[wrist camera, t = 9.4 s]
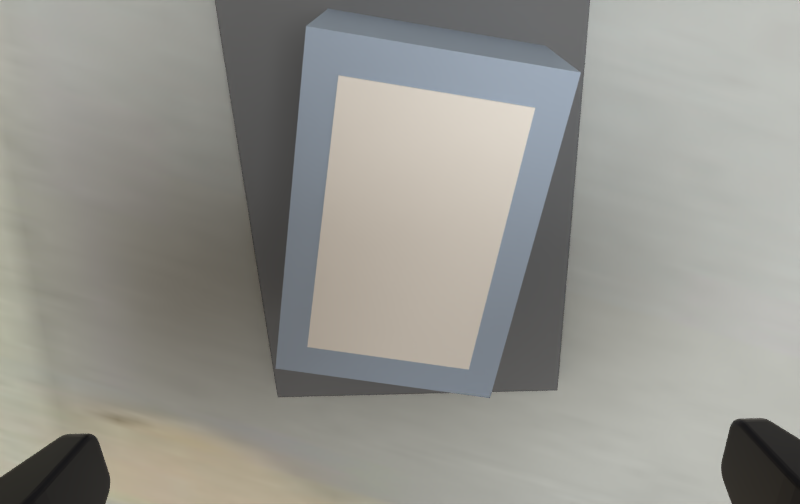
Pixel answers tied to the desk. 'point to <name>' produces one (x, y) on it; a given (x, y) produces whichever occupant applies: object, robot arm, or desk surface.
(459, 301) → the card deck
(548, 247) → the mat
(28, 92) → the desk surface
